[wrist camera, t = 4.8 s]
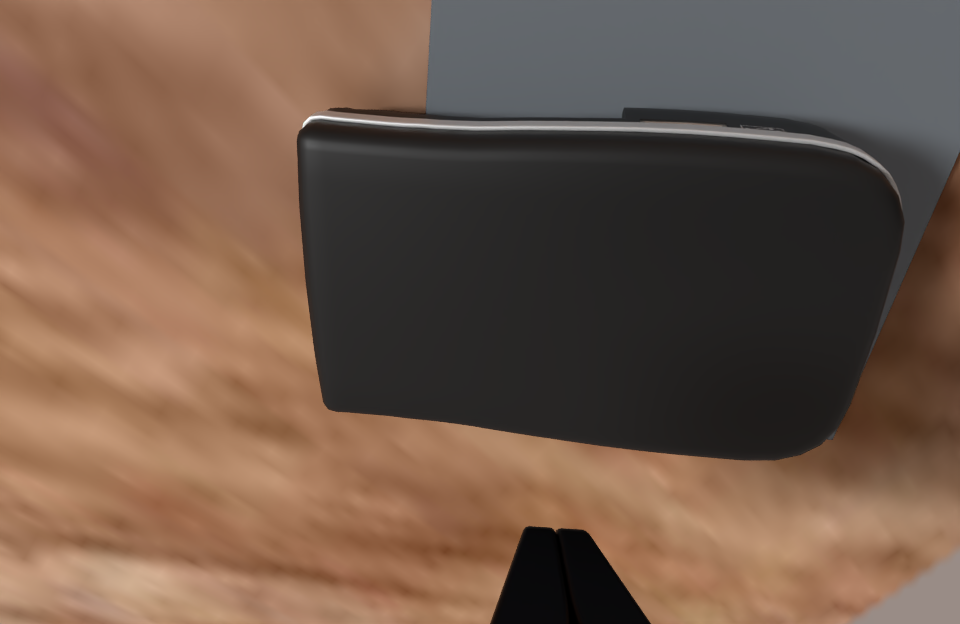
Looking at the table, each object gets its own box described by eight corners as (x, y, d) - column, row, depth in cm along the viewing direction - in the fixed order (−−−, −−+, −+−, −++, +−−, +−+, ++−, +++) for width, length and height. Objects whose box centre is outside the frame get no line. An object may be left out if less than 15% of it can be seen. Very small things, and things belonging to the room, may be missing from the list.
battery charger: (361, 339, 20) (795, 382, 18) (312, 423, 16) (837, 483, 15) (343, 76, 16) (872, 103, 15) (278, 114, 13) (948, 154, 12)
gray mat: (1130, -272, 13) (1148, -277, 12) (826, 430, 21) (832, 439, 20) (452, -355, 12) (451, -362, 12) (411, 400, 20) (410, 409, 20)
